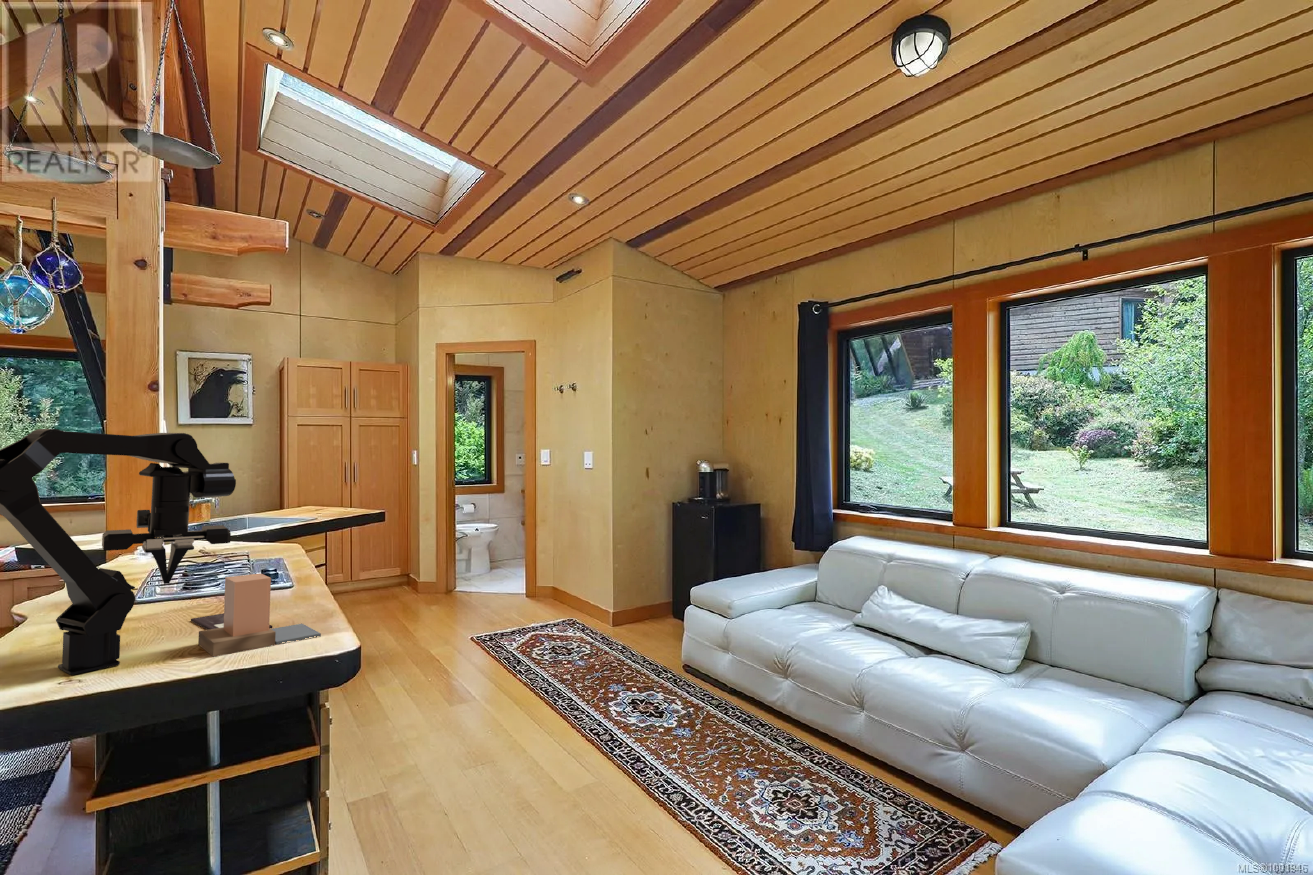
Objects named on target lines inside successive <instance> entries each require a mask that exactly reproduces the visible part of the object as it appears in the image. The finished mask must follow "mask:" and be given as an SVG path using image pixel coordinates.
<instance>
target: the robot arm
mask: <svg viewBox="0 0 1313 875" xmlns="http://www.w3.org/2000/svg"><path fill="white" fill-rule="evenodd" d="M60 454H82V455H83V454H84V455H100V456H101V455H103V456H106V455H107V456H126V457H127V456H128V457H131V458H136V459H140V460H144V461H149V462H150V463H149V464H148V466H146V467H145V468H143V469H142V470H140V471H139V472H138V475H139V476H142V477H143V476H144V477H149V478H150V477H151V478H152V487H151V501H150V502H151V504H150V506H151V507H150V509H138V510H137V512H136V528H137V529H140V528H141V529H146V528H147V532H145V533H144V532H143V533H133V531H132V529H131V528H130V529H111V530H106V531H105V532H103V533H102V538H101V547H102V550H103V551H107V552H108V551H124V550H128V549H129V548H131V547H133V545H137V544H138V545H139V544H142V545H141V548H142V550H143V551H144V553H146V554H148V553H149V554H150V553H151V554H152V556H153V559H154V560H155V562H156V565H157V568H158V572H159V573H160V576H161V580H162V584H164V585H165V584H166V585H168V584H170V583H171V581H172V579H173V577H174V575H175V572H176V571H177V568H178V566H179V565H180V563H181V562H182V560H183V558H185V555H186V554H187V552H188V551H193V550H195V546H194V545H193V543H194V542H195V541H207V542H208V543H209V544H210V545H221V544H230V543H231V539H232V538H231V537H232V536H231V530H230V529H229V528H227V527H226V526H225V525H223V524H220V525H202V527H201V530H189V519H190V518H189V517H190V505H191V504H190V502H191V501H190V500H191V495H192V497H194V498H195V499H196V498H197V499H201V498H202V499H205V498H220V497H229V496H231V495H232V494H233V493H234V491H235V489H236V486H237V485H236V484H237V480H236V479H235V475H234V472H233V470H231V469H230V463H229V462H214V463H210V462H209V461H208V459H207V458H206V457H205V455H204V454H203V453H202V452H201V451H200V449H199V448H198V443H197V441H196V439H195V438H194V437H193V435H191V434H188V433H186V432H185V433H184V432H156V433H143V434H137V435H127V434H113V433H110V434H108V433H96V432H81V431H66V430H62V429H58V428H37V429H35V430H32V431H31V432H30V433H29V434H27V435H25V436H24V437H22V438H21V439H19V440H17V441H16V442H15V441H14V442H13V443H11V444H9V445H7V446H5V447H3V448H1V449H0V515H1V516H2V517H4V518H5V519H6V520H7V521H8V523H10V524H11V525H12V526H13V527H14V529H15V530H16V531H17V532H18V533H19V534H20V535H21V536H22V537H23V539H24V540H26V542H27V543H28V544H29V545H30V546H31V547H32V548H33V549H34V550H35V551H36V552H37V553H38V555H40V557H42V559H43V560H44V561H45V562H46V563H47V564H48V565H49V566H50V568H51V569H53V570H54V571H55V573H57V575H58V577H60V578H61V580H63V582H64V583H65V586H66V592H67V596H68V598H69V600H70V601H71V605H70V606H68V607H67V608H66V609H64V611H63V612H62V613H61V614H60V615H59V616H58V617H56V618H55V622H56V624H57V626H58V629H59V630H60V631H63V634H62V635H63V636H62V653H61V654H62V657H61V658H62V659H61V660H62V661H61V663H60V664H58V665H57V668H58V669H59V670H61V671H63V673H67V674H68V675H69V676H74V675H79V674H83V673H87V672H92V671H97V670H102V669H106V668H111V667H115V666H116V667H117V666H119V665H120V664H121V662H120V661H119V659H120V657H121V656H120V652H121V635H120V634H118V633H117V632H118V631H121V630H122V627H123V625H124V622H125V620H126V618H127V616H128V614H129V613H131V611H132V609H133V607H134V605H135V601H136V600H137V598H136V595H135V593H134V591H133V590H135V588H136V587H135V586H134V585H131V584H130V583H129V582H128V581H127V579H126V577H125V576H124V574H123V573H122V572H121V571H120V570H116V569H108V568H103V567H99V568H98V567H97V566H96V565H95V563H94V562H93V561H92V560H91V559H90V557H89V556H87V554H86V553H85V552H84V551H83V550H82V549H81V547H80V546H79V545H78V544H77V543H76V542H75V541H74V539H72V537H71V536H70V535H69V534H68V533H67V531H65V529H64V528H63V527H62V526H61V524H60V523H59V522H58V521H57V520H56V519H55V517H53V516H52V515H51V513H50V512H49V511H48V510H47V509H46V507H44V505H43V504H42V502H41V499H40V495H39V494H40V493H39V488H38V486H37V485H36V482H35V480H34V479H33V478H34V477H36V476H37V475H38V474H40V473H41V472H42V471H43V470H45V469H46V468H47V466H48V465H49V464H51V463H52V461H53V460H54V458H56V457H57V456H59V455H60ZM159 463H160V464H167V465H170V466H161V465H160V464H159ZM182 469H187V470H186V471H183V470H182ZM164 543H171V544H170V555H169V558H168V563H167V554H166V548H165V547H164Z"/></svg>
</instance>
